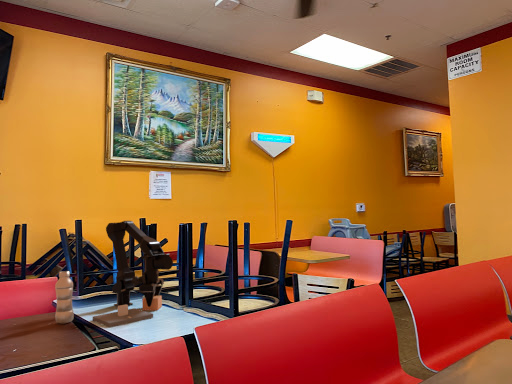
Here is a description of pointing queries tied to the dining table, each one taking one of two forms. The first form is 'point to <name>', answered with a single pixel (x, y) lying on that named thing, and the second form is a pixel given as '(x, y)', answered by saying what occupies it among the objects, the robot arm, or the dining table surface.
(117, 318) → the panel
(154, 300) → the orange block
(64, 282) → the plastic bottle
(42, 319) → the dining table surface
